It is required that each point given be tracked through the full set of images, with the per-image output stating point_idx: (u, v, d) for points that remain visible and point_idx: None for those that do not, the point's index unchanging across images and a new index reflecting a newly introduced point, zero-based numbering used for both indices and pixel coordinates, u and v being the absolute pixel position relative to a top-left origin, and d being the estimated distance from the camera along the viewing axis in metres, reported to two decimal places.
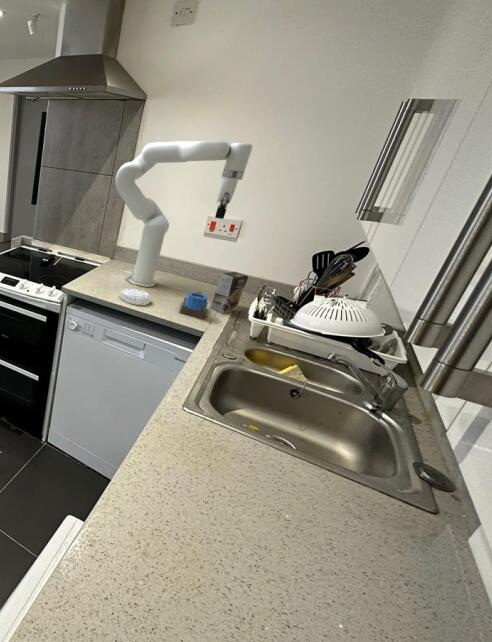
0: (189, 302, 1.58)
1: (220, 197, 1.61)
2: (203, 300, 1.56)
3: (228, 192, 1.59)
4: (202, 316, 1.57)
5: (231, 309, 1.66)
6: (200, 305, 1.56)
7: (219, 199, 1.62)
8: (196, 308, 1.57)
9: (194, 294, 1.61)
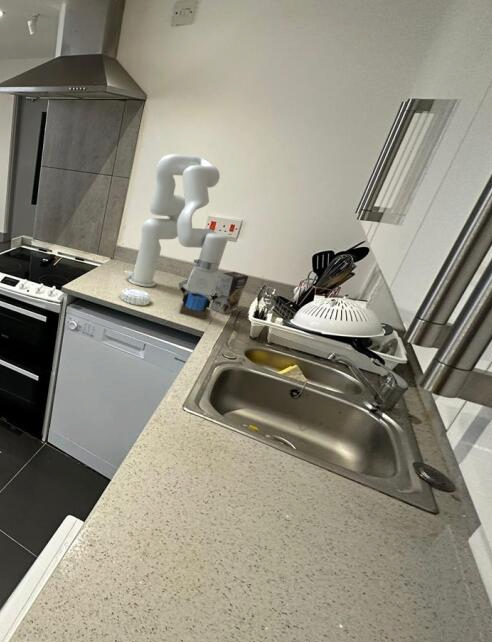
0: (189, 302, 1.58)
1: None
2: (203, 300, 1.56)
3: None
4: (202, 316, 1.57)
5: (231, 309, 1.66)
6: (200, 305, 1.56)
7: None
8: (196, 308, 1.57)
9: (194, 294, 1.61)
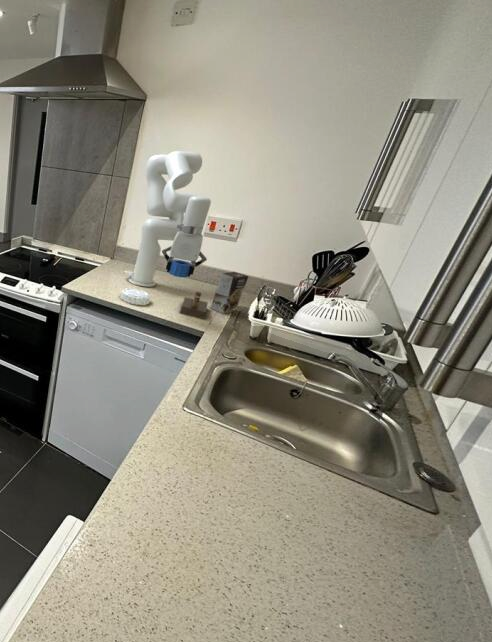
0: (173, 269, 1.55)
1: (198, 255, 1.50)
2: (187, 266, 1.52)
3: None
4: (202, 316, 1.57)
5: (231, 309, 1.66)
6: (184, 272, 1.53)
7: (197, 258, 1.50)
8: (180, 275, 1.53)
9: (178, 261, 1.57)
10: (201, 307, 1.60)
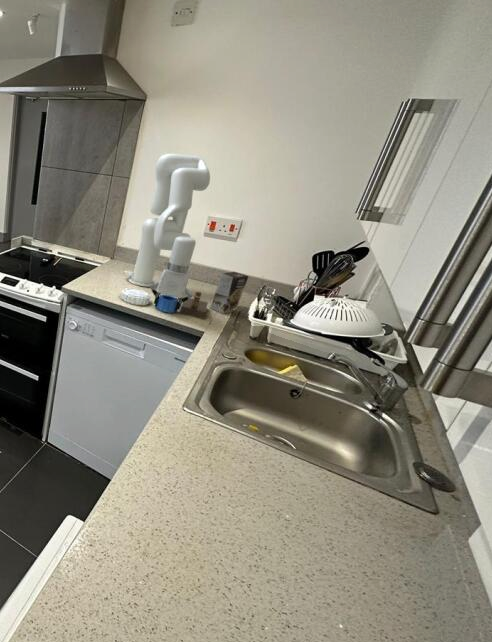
0: (160, 304, 1.61)
1: (184, 292, 1.56)
2: (173, 302, 1.58)
3: (186, 286, 1.57)
4: (202, 316, 1.57)
5: (231, 309, 1.66)
6: (170, 307, 1.59)
7: (183, 294, 1.56)
8: (167, 310, 1.60)
9: (165, 296, 1.64)
10: (201, 307, 1.60)
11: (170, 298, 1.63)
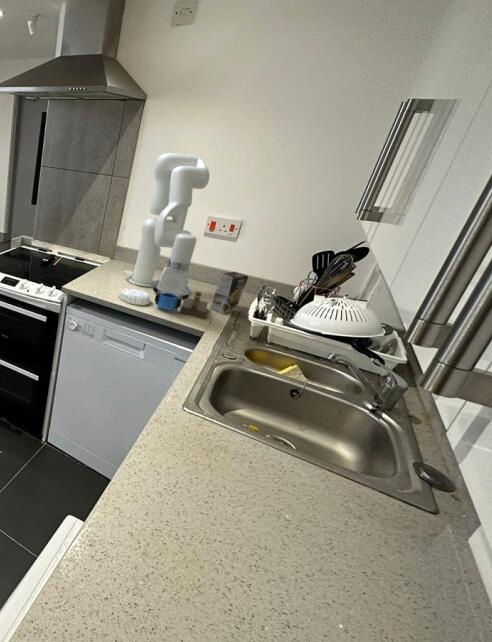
0: (161, 302, 1.61)
1: None
2: (174, 300, 1.58)
3: None
4: (202, 316, 1.57)
5: (231, 309, 1.66)
6: (171, 305, 1.59)
7: (184, 292, 1.56)
8: (167, 308, 1.59)
9: (166, 294, 1.63)
10: (201, 307, 1.60)
11: (171, 296, 1.63)
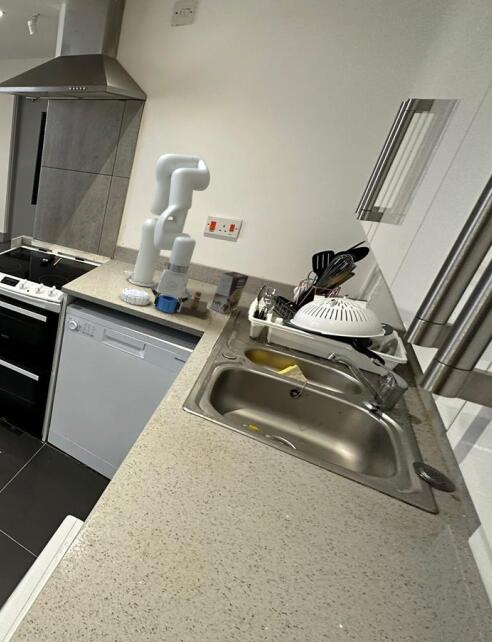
0: (160, 304, 1.61)
1: (184, 292, 1.56)
2: (173, 302, 1.58)
3: (186, 286, 1.57)
4: (202, 316, 1.57)
5: (231, 309, 1.66)
6: (170, 307, 1.59)
7: (183, 294, 1.56)
8: (167, 310, 1.60)
9: (165, 296, 1.64)
10: (201, 307, 1.60)
11: (170, 298, 1.63)
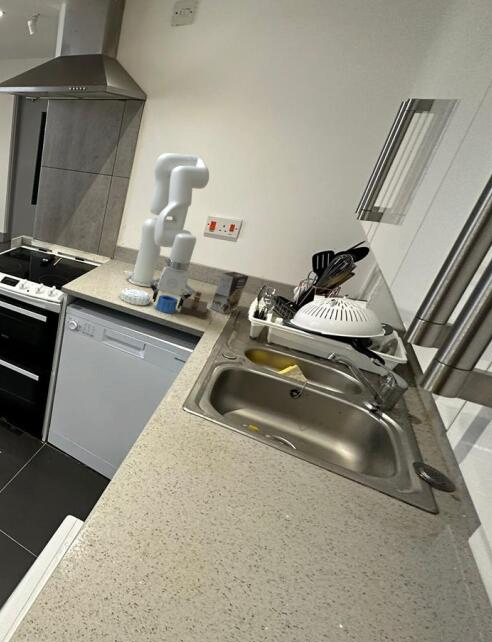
0: (160, 305, 1.61)
1: (184, 290, 1.56)
2: (173, 303, 1.59)
3: None
4: (202, 316, 1.57)
5: (231, 309, 1.66)
6: (170, 308, 1.59)
7: None
8: (166, 310, 1.60)
9: (165, 297, 1.64)
10: (201, 307, 1.60)
11: (170, 298, 1.64)
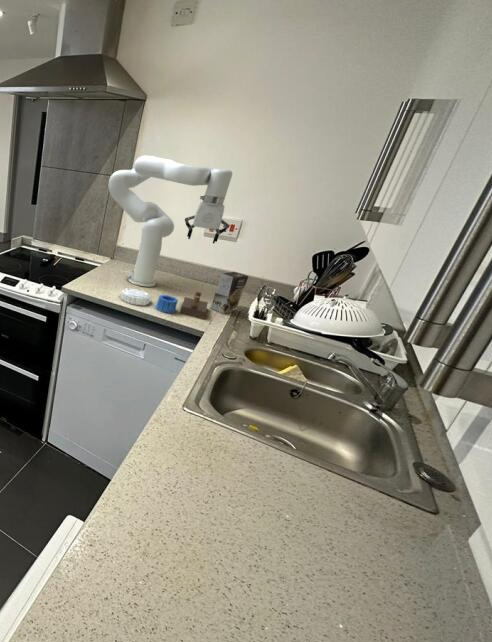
0: (160, 305, 1.61)
1: None
2: (173, 303, 1.59)
3: None
4: (202, 316, 1.57)
5: (231, 309, 1.66)
6: (170, 308, 1.59)
7: (219, 226, 1.62)
8: (166, 310, 1.60)
9: (165, 297, 1.64)
10: (201, 307, 1.60)
11: (170, 298, 1.64)
